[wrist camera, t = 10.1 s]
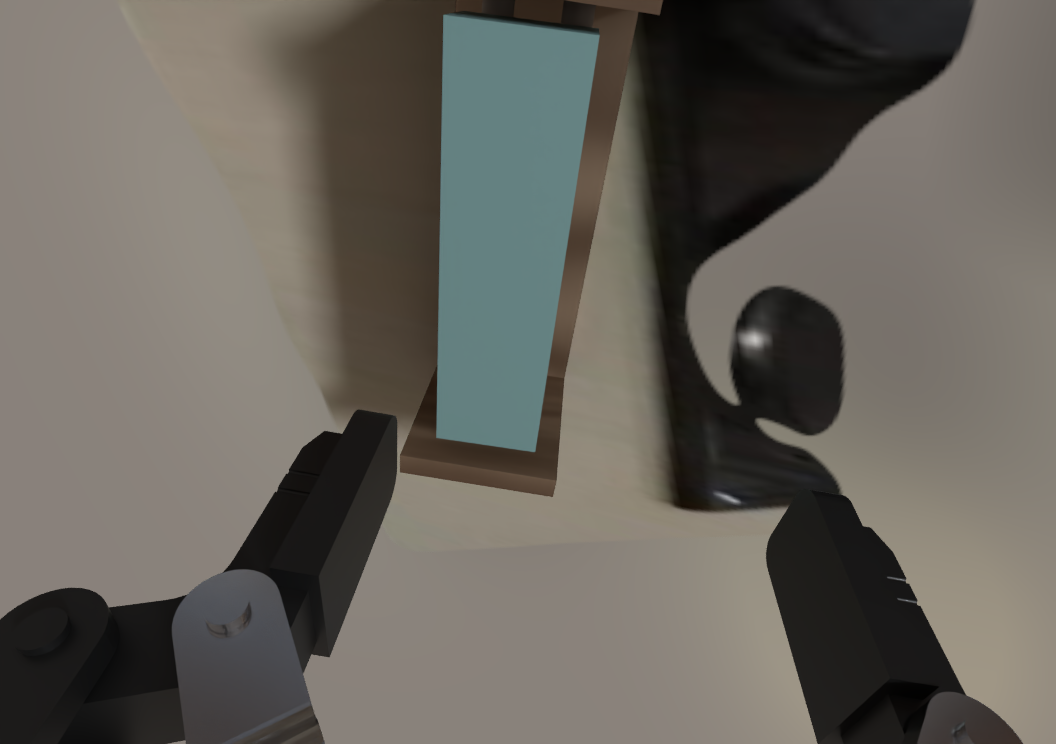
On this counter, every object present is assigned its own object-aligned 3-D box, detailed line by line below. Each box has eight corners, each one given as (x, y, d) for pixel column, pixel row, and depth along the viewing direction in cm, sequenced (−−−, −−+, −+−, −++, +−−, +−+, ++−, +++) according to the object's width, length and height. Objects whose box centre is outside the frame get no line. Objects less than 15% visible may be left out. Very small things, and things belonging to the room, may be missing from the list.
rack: (465, -110, 23) (396, -161, 15) (655, -81, 23) (688, -116, 15) (441, 386, 38) (400, 495, 30) (557, 405, 38) (547, 519, 30)
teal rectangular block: (464, 10, 21) (443, 14, 18) (598, 28, 21) (599, 35, 18) (450, 395, 31) (436, 437, 28) (540, 408, 31) (535, 452, 28)
